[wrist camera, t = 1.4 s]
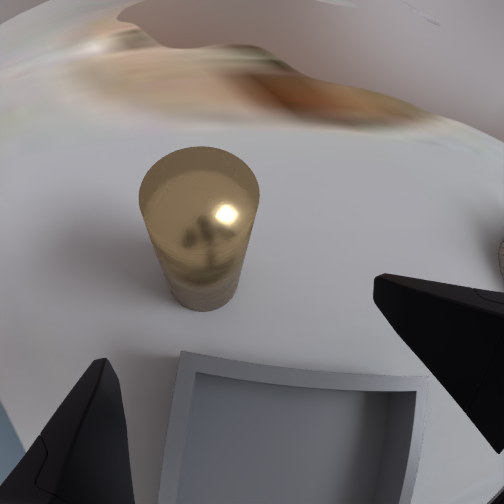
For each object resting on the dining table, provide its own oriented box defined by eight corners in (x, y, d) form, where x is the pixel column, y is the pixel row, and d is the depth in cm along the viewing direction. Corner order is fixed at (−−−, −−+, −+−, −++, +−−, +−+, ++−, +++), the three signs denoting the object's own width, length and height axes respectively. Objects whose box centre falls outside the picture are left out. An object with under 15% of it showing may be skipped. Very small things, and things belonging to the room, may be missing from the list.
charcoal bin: (362, 552, 15) (387, 573, 11) (159, 548, 14) (150, 576, 10) (395, 380, 21) (428, 376, 17) (187, 357, 21) (181, 350, 16)
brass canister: (232, 317, 22) (250, 257, 12) (161, 303, 22) (122, 234, 12) (243, 252, 24) (266, 156, 14) (177, 239, 24) (159, 140, 14)
